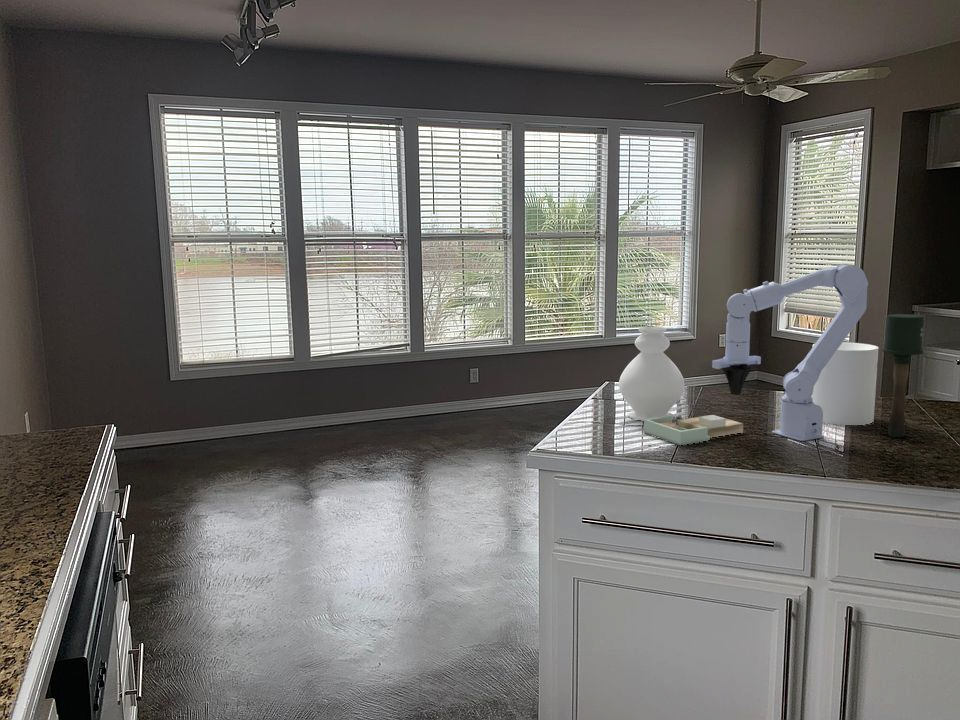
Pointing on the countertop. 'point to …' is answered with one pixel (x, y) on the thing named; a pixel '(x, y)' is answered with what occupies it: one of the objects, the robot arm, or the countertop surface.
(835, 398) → the canister
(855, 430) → the countertop surface
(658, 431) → the tray
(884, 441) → the countertop surface
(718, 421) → the cream tile
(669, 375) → the decorative vase
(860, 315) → the robot arm
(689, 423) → the board
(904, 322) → the stick grenade
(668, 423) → the terracotta tile
